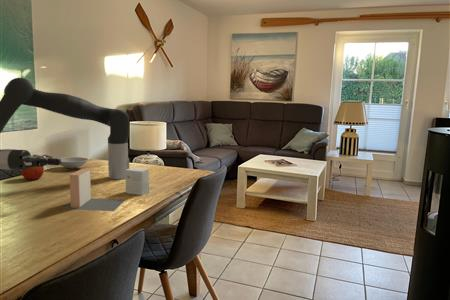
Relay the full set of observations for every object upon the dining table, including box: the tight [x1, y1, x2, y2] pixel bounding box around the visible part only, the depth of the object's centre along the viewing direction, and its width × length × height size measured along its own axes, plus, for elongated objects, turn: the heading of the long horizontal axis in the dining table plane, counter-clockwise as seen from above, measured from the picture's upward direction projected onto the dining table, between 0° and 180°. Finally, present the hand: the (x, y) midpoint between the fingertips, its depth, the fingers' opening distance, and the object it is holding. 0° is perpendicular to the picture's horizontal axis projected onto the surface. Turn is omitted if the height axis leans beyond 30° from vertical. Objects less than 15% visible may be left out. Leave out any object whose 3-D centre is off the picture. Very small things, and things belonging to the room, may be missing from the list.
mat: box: [61, 197, 126, 212], centre depth 128 cm, size 18×13×1 cm
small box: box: [124, 167, 150, 196], centre depth 144 cm, size 8×6×10 cm
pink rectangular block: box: [69, 168, 92, 208], centre depth 128 cm, size 3×10×12 cm, turn 178°
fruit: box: [20, 166, 45, 181], centre depth 163 cm, size 10×10×10 cm
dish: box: [57, 156, 90, 170], centre depth 187 cm, size 18×14×5 cm
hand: (59, 162), depth 126 cm, fingers closed
